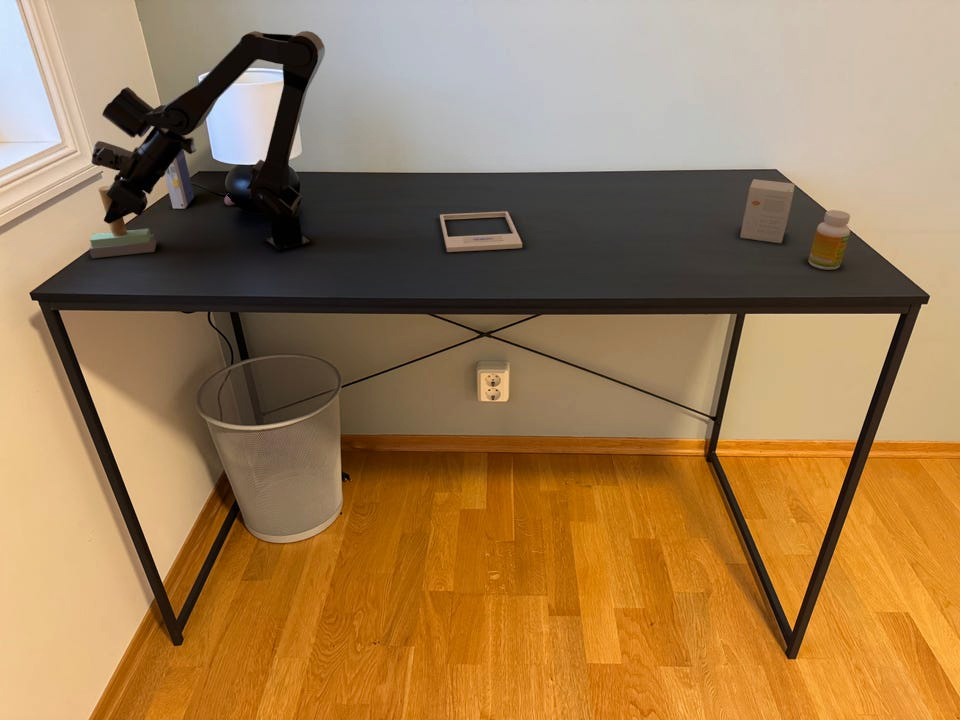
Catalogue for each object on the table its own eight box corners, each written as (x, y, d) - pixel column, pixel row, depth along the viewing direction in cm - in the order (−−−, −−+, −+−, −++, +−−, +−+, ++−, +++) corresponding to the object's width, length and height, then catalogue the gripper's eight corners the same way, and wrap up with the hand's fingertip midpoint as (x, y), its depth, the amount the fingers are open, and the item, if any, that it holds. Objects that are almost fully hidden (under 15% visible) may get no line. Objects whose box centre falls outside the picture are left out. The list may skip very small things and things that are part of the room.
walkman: (182, 197, 159) (169, 145, 153) (194, 197, 160) (182, 144, 153) (172, 209, 153) (158, 154, 146) (184, 208, 153) (171, 154, 147)
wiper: (156, 244, 136) (139, 181, 129) (154, 251, 132) (137, 188, 126) (95, 250, 133) (75, 187, 126) (92, 258, 130) (71, 194, 123)
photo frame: (446, 246, 131) (439, 213, 146) (447, 252, 131) (439, 218, 147) (522, 242, 132) (507, 210, 148) (522, 248, 133) (507, 215, 148)
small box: (783, 234, 139) (796, 183, 133) (781, 244, 134) (794, 191, 129) (742, 228, 142) (753, 178, 136) (738, 238, 137) (749, 186, 132)
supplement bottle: (837, 273, 123) (852, 221, 118) (805, 266, 126) (819, 215, 120) (841, 262, 127) (856, 212, 122) (810, 256, 129) (824, 206, 124)
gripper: (119, 114, 129) (74, 177, 132) (104, 138, 114) (52, 209, 117) (174, 153, 135) (129, 212, 138) (166, 181, 120) (116, 247, 123)
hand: (107, 219), depth 129 cm, fingers closed on wiper, 2 cm apart
